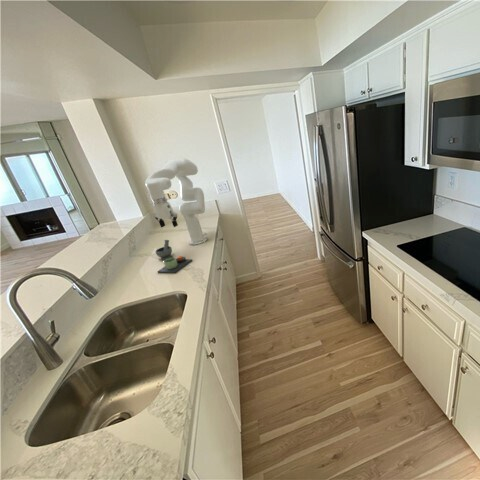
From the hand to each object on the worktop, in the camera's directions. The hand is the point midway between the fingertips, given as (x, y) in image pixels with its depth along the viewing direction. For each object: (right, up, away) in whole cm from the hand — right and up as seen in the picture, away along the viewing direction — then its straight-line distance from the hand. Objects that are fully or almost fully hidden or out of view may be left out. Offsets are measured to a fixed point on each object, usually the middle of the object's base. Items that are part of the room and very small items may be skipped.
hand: (169, 226), depth 170 cm
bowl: (+3, -26, -3) cm, 26 cm away
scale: (+4, -26, 0) cm, 27 cm away
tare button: (+5, -22, +4) cm, 23 cm away
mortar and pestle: (-11, -21, +16) cm, 29 cm away
